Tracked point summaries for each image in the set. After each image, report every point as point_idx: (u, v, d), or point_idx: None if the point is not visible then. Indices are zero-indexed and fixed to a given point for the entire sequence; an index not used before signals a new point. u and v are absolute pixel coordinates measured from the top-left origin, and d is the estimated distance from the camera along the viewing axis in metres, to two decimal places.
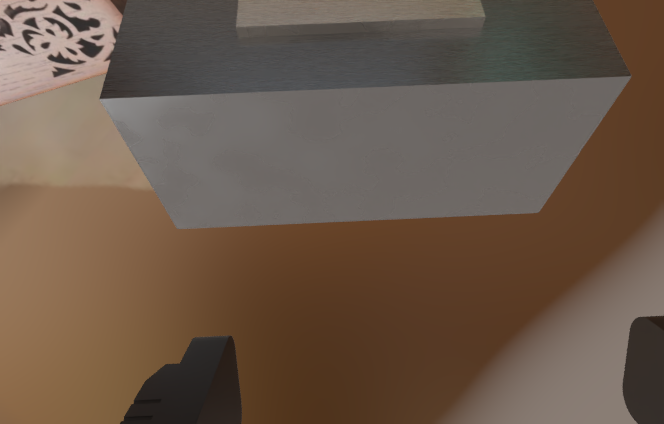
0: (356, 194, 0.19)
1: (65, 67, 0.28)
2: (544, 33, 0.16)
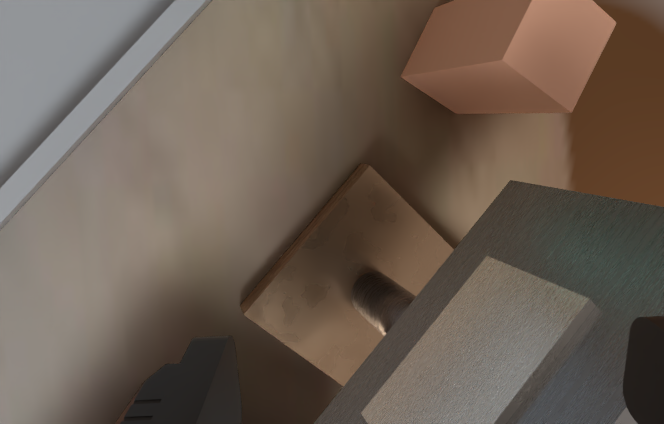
0: None
1: None
2: (645, 262, 0.15)
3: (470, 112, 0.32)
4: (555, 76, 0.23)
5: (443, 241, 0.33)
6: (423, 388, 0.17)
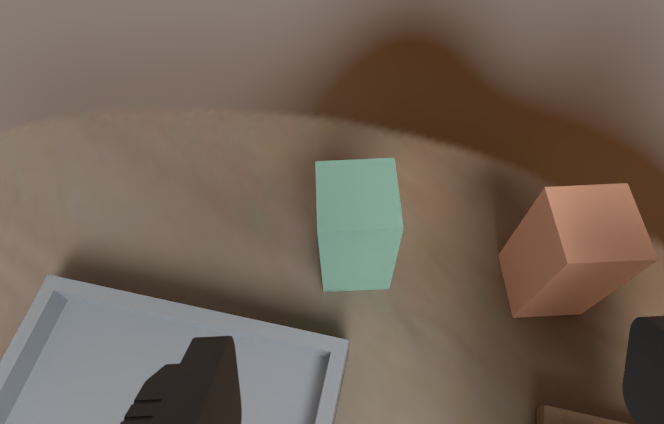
0: None
1: None
2: None
3: (589, 306, 0.34)
4: (619, 245, 0.27)
5: None
6: None
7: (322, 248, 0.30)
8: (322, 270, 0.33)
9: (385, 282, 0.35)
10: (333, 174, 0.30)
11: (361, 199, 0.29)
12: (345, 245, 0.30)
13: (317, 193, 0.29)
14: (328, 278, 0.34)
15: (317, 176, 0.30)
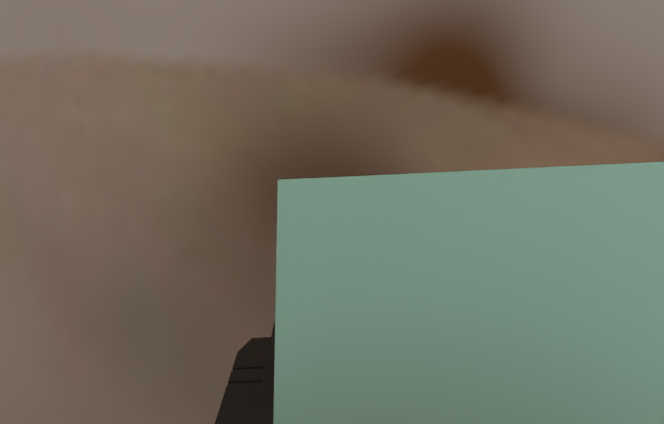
0: None
1: None
2: None
3: None
4: None
5: None
6: None
7: None
8: None
9: None
10: (377, 256, 0.05)
11: None
12: None
13: (282, 391, 0.05)
14: None
15: (287, 269, 0.05)
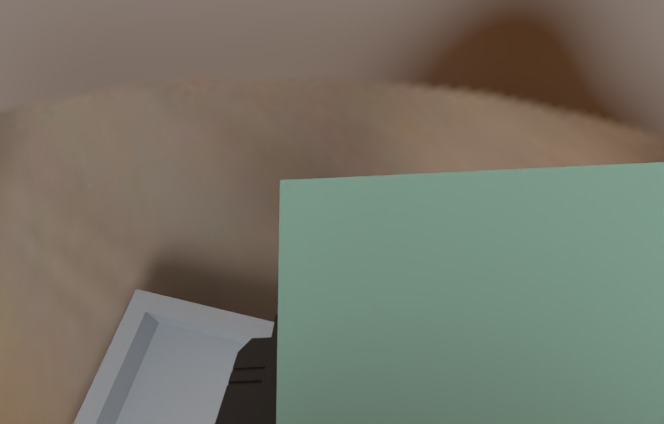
0: None
1: None
2: None
3: None
4: None
5: None
6: None
7: None
8: None
9: None
10: (380, 257, 0.05)
11: None
12: None
13: (285, 391, 0.05)
14: None
15: (289, 269, 0.05)
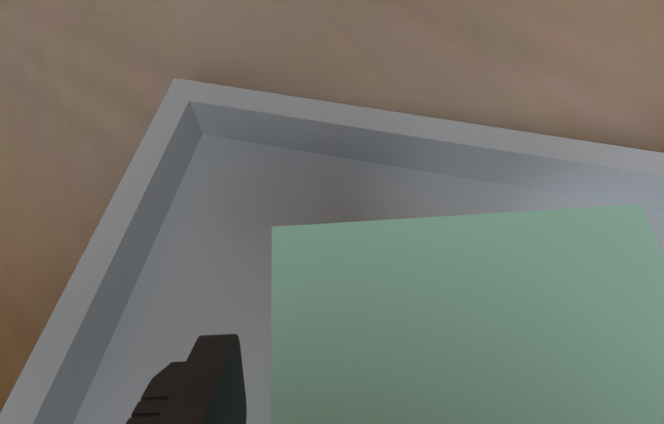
0: None
1: None
2: None
3: None
4: None
5: None
6: None
7: None
8: None
9: None
10: (360, 295, 0.06)
11: None
12: None
13: (278, 416, 0.05)
14: None
15: (280, 308, 0.06)
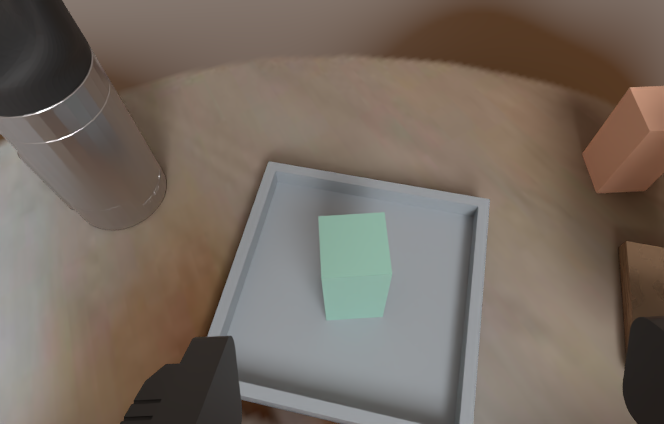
0: None
1: None
2: None
3: (653, 181, 0.48)
4: None
5: None
6: None
7: (325, 289, 0.36)
8: (325, 304, 0.39)
9: (378, 312, 0.41)
10: (333, 227, 0.36)
11: (357, 249, 0.35)
12: (344, 287, 0.36)
13: (320, 244, 0.35)
14: (330, 310, 0.40)
15: (320, 229, 0.36)
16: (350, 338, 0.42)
